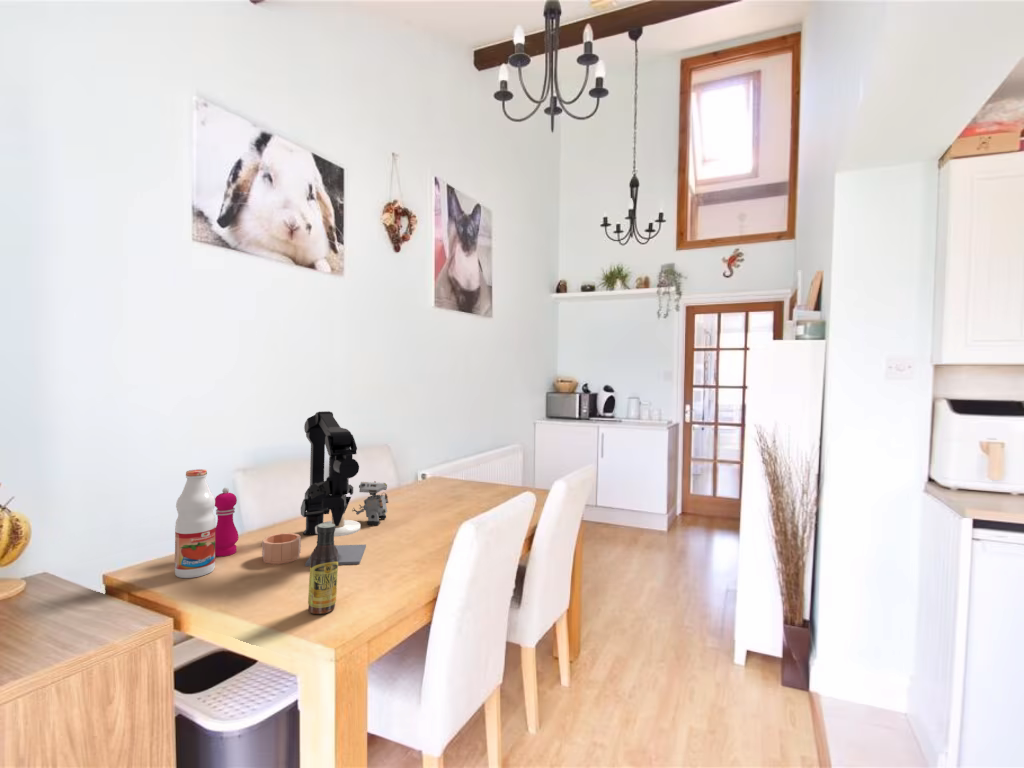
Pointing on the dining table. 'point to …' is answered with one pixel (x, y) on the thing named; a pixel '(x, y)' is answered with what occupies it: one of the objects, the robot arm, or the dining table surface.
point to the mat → (347, 554)
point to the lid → (344, 527)
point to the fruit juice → (195, 528)
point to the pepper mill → (225, 524)
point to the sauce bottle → (323, 572)
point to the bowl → (281, 548)
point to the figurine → (374, 502)
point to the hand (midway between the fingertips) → (338, 523)
